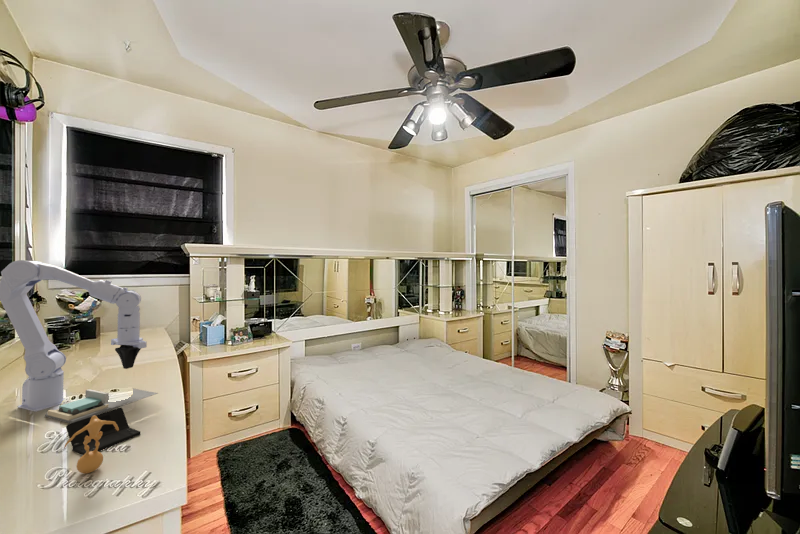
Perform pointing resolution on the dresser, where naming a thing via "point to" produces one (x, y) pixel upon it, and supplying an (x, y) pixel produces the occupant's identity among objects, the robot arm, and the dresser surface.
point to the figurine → (93, 458)
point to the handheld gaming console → (109, 431)
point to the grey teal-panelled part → (86, 402)
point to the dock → (97, 408)
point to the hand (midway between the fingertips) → (128, 367)
